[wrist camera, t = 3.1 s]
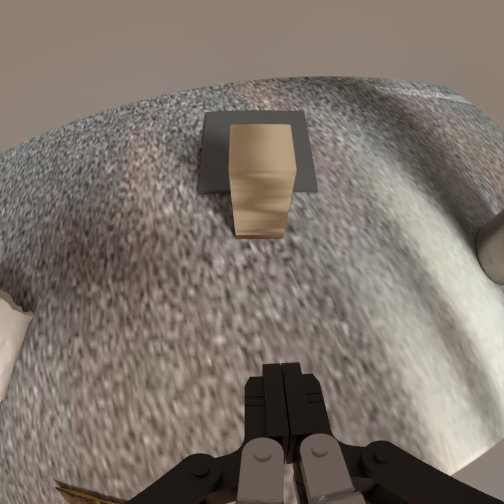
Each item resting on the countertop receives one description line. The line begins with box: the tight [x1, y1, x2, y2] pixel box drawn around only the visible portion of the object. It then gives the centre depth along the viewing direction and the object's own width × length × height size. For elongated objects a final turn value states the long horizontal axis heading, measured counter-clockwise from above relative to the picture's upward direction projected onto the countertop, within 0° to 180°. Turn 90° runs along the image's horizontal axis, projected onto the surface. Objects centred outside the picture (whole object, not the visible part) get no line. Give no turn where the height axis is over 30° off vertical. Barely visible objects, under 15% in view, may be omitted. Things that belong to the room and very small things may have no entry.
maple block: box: [229, 124, 297, 239], centre depth 28 cm, size 5×5×12 cm
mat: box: [198, 110, 318, 194], centre depth 37 cm, size 14×14×1 cm
